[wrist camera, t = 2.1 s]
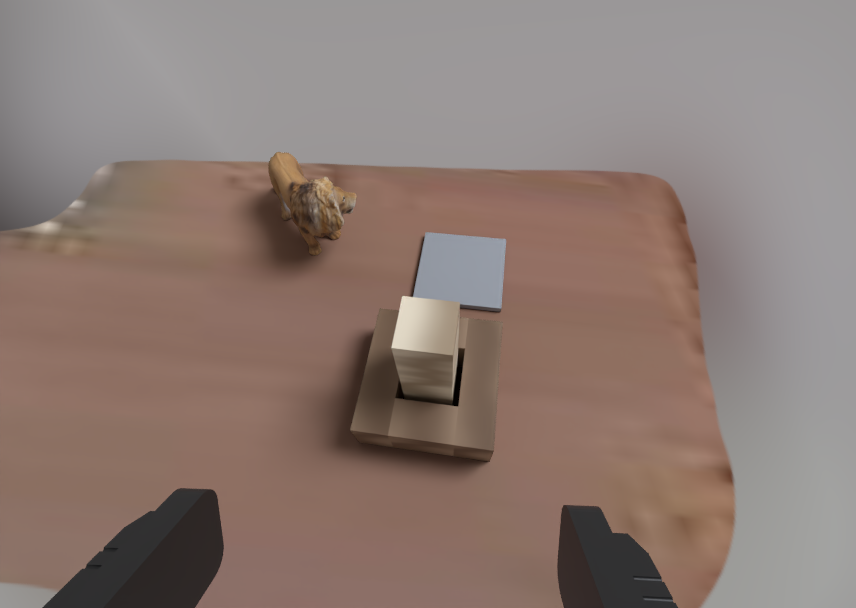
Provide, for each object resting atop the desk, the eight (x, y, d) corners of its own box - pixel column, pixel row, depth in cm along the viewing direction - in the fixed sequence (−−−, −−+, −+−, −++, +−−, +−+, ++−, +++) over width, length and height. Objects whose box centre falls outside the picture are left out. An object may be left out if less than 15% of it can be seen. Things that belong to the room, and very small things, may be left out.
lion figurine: (375, 248, 43) (359, 179, 35) (332, 279, 41) (305, 213, 33) (294, 177, 49) (265, 105, 41) (254, 201, 47) (216, 130, 39)
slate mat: (412, 302, 39) (412, 299, 39) (426, 236, 43) (425, 232, 43) (500, 312, 38) (501, 308, 38) (505, 243, 42) (506, 239, 42)
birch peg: (407, 407, 34) (391, 347, 25) (414, 366, 36) (402, 296, 27) (451, 413, 34) (453, 355, 24) (457, 371, 36) (460, 302, 26)
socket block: (359, 442, 33) (350, 430, 30) (385, 328, 38) (379, 308, 35) (489, 461, 32) (493, 450, 29) (498, 341, 37) (502, 322, 34)
